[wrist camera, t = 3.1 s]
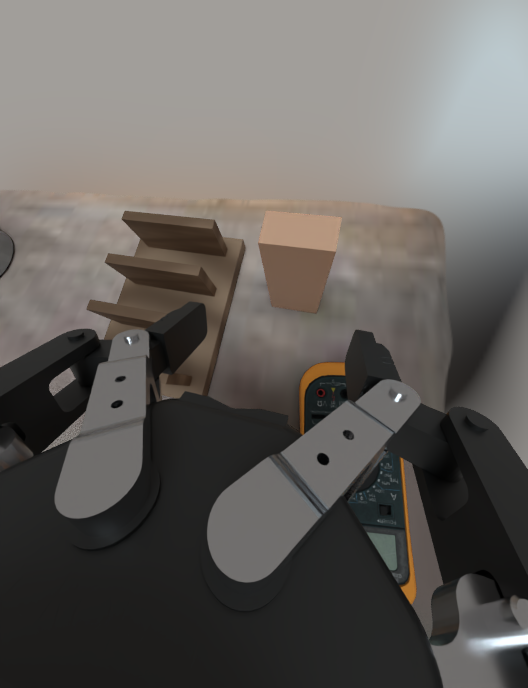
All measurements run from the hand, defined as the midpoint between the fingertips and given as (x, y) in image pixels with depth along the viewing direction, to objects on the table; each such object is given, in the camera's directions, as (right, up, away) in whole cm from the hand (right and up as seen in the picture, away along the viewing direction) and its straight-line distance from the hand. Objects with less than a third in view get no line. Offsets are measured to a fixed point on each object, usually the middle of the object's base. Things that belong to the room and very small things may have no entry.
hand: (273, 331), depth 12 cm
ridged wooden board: (-11, +3, +15) cm, 19 cm away
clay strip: (+3, +4, +13) cm, 14 cm away
